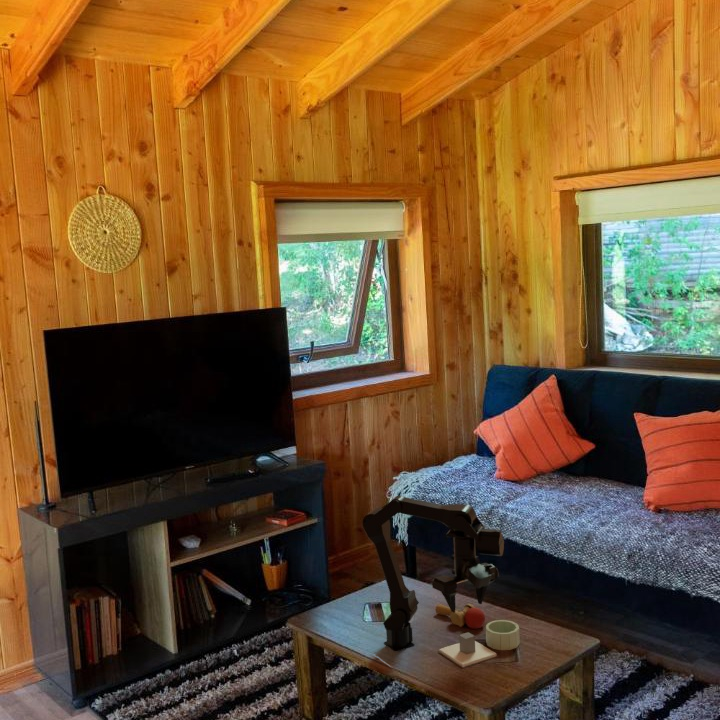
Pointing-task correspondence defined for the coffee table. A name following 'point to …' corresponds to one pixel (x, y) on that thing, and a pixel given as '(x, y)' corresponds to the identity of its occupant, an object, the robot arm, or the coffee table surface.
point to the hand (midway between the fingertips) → (466, 607)
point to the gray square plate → (468, 665)
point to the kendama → (464, 616)
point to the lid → (467, 651)
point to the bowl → (502, 635)
